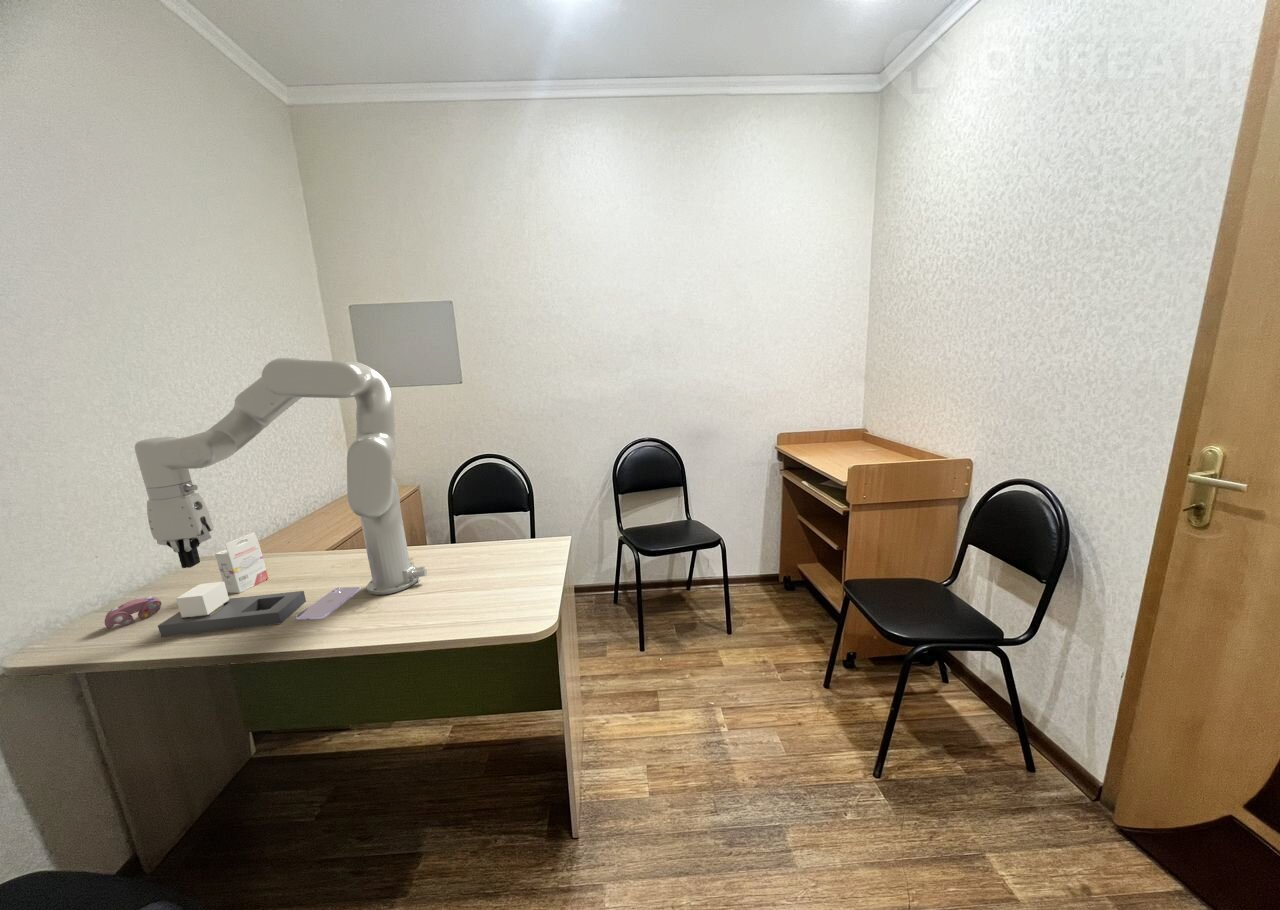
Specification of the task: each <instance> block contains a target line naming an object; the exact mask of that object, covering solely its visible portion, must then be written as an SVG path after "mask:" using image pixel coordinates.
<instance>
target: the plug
mask: <svg viewBox="0 0 1280 910" xmlns="http://www.w3.org/2000/svg"><path fill="white" fill-rule="evenodd" d="M229 599H230V597H229V593H227V590H226V586H225V582H223V581H217V582H207V583H206V582H205V583H199V584H198V585H196V586H194V587H193V588H191V589H189V590H188V591H186V592H184V593H182V594H181V595H179V596H177V597H176V603H177V607H178V610H179V611H180V614H181V617H182V618H184V617H190V618H196V617H205V616H211V615H212V614H213V613H215V612H216V611H218V610H219V609H221V608H222V607H223V606H224V605H223V604H224V603H225V602H227V601H228V600H229Z"/></svg>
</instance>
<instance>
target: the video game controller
mask: <svg viewBox="0 0 1280 910" xmlns="http://www.w3.org/2000/svg"><path fill="white" fill-rule="evenodd" d="M161 608H162V601H161V600H160V599H159V598H157V597H156V596H151V595H149V596H147V597H145V598H138V599H131V600H128V601H126V602H125V603H123V604H121V605H119V606H118V607H113V608H111V609H110V611H108V612H107V614H106V615H105V617H104V625H105V628H107V629H112V628H113V627H114V626H116V625H121V626H123V627H124V626H129V625H131V624H133V622H134V621H135V619H134V616H132V615H133V614H136V613H137V617H138V618H139V619H140V620H145V619H148V618H150V617H151V616H152V614H153V613H154V612H159V611H160V610H161Z"/></svg>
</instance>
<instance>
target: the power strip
mask: <svg viewBox="0 0 1280 910" xmlns="http://www.w3.org/2000/svg"><path fill="white" fill-rule="evenodd" d="M306 602H307V600H306V595H305V591H304V590H299V591H289V592H280V593H271V594H262V595H261V594H258V595H251V596H240V597H233V598H232V597H230V598H229V600H228V601H227V602H225V603H224V604H223V605H224V606H223V607H222V608H221V609H219V610H218V611H216V612H215V613H213V614H212V615H211V616H205V617H196V618H190V617H184V618H182V617H181V614H180V610H179V611H178V612H176V613H175V614H174V615H172V616H171V617H169V618H167V619H166V620H164V621H163V622H161V623H160V624H157V629H158V632H159V634H160V638H166V637H174V636H183V635H184V636H185V635H192V634H202V633H211V632H212V633H213V632H220V631H229V630H237V629H238V630H239V629H247V628H256V627H263V626H271V625H272V626H273V625H282V624H283V622H285V621H286V620H287V619H288V618H289V617H291V615H293V614H294V613H295V612H296V611H297V610H298V609H299V608H301V606H303V605H304V604H305V603H306Z"/></svg>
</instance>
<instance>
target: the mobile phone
mask: <svg viewBox="0 0 1280 910" xmlns="http://www.w3.org/2000/svg"><path fill="white" fill-rule="evenodd" d="M361 589H362V588H361V587H359V586H355V587H353V586H350V587H349V586H348V587H345V586H344V587H336V588H334V589H332V590H331V591H329V592H328V593H327V594H325V595H324V596H323V597H320V599H318V600H317V601H315V602H314V603H313V604H311V605H310V606H309V607H307V608H306V609H304V610H303V611H302V612H300V613H299V614H297V616H295V619H296V620H299V621H301V620H307V621H308V620H322V619H325V618H326V617H328V616H329V615H331V614H332V613H333V612H334V611H335V610H338V608H339V607H341V606H342V605H343V604H345V602H347V601H348V600H349V599H351V598H352V597H354V596H355V595H356V594H358V592H360V591H361Z"/></svg>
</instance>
